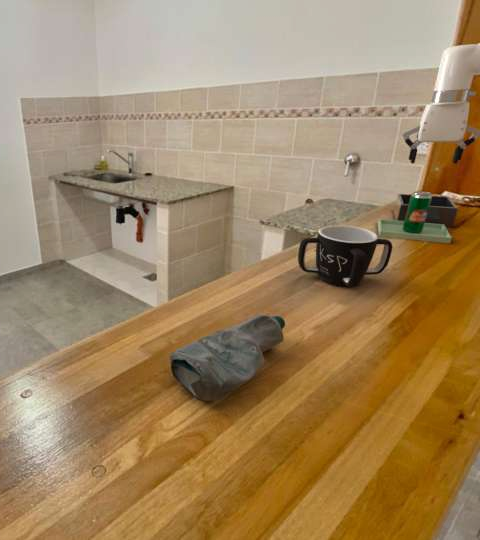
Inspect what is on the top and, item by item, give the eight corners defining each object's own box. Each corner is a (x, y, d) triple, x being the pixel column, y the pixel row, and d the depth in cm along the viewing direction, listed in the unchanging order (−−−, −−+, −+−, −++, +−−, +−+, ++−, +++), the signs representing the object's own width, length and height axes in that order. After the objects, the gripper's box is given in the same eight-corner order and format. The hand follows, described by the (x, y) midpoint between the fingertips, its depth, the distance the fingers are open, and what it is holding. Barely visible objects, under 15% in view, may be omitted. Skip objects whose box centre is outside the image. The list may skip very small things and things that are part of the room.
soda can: (406, 233, 117) (416, 195, 112) (399, 228, 121) (409, 191, 116) (425, 234, 115) (436, 195, 110) (417, 228, 120) (428, 191, 115)
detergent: (210, 420, 55) (314, 354, 67) (208, 379, 53) (316, 318, 64) (155, 377, 66) (253, 326, 77) (152, 342, 63) (253, 295, 75)
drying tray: (442, 229, 120) (444, 224, 119) (450, 243, 109) (451, 237, 109) (377, 224, 128) (379, 219, 127) (379, 236, 117) (380, 231, 117)
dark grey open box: (443, 214, 133) (449, 196, 130) (451, 228, 121) (458, 208, 118) (393, 211, 140) (397, 193, 137) (396, 223, 128) (401, 204, 125)
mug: (287, 275, 97) (293, 230, 92) (329, 261, 103) (337, 218, 98) (348, 302, 83) (359, 251, 78) (392, 283, 90) (405, 235, 85)
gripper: (488, 94, 101) (469, 160, 108) (408, 99, 110) (395, 160, 117) (496, 95, 96) (475, 165, 103) (411, 100, 104) (397, 164, 111)
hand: (432, 162), depth 110 cm, fingers open, 9 cm apart
